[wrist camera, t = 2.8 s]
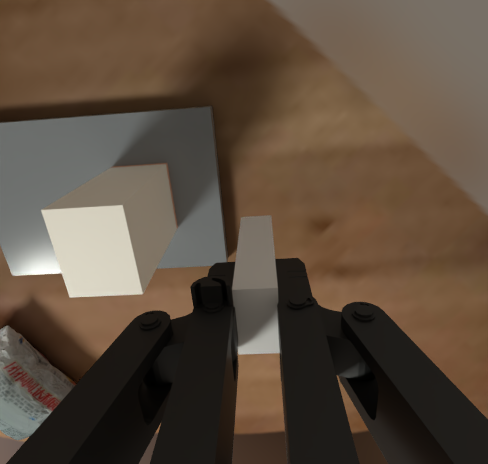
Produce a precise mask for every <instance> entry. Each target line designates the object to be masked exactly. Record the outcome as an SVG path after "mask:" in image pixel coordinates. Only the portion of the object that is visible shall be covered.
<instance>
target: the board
mask: <svg viewBox="0 0 488 464" xmlns="http://www.w3.org/2000/svg"><path fill="white" fill-rule="evenodd" d="M157 163H167V164H168V170H169V176H170V182H171V188H172V194H173V201H174V207H175V213H176V219H177V225H178V228H177V230H176V232H175V234H174V236H173V238H172V240H171V242H170V243H169V245H168V247H167V249H166V251H165V253H164V255H163V257H162V259H161V261H160V262H159V264H158V266H157V268H176V267H196V266H213V265H214V264H215V263H221V262H228V253H227V243H226V233H225V224H224V214H223V205H222V195H221V186H220V176H219V167H218V157H217V147H216V138H215V128H214V119H213V109H212V106H202V107H189V108H176V109H163V110H150V111H137V112H124V113H111V114H98V115H85V116H72V117H59V118H46V119H33V120H20V121H7V122H0V245H1V248H2V250H3V253H4V255H5V258H6V260H7V263H8V265H9V268H10V270H11V273H12V275H13V276H15V275H35V274H55V273H62V272H61V269H60V266H59V263H58V260H57V257H56V254H55V251H54V248H53V245H52V242H51V239H50V236H49V233H48V230H47V227H46V224H45V221H44V218H43V215H42V212H41V210H42V209H43V208H45V207H47V206H48V205H50V204H52V203H53V202H55V201H57V200H58V199H60V198H62V197H63V196H65V195H66V194H68V193H70V192H71V191H73V190H75V189H76V188H78V187H80V186H81V185H83V184H85V183H86V182H88V181H89V180H91V179H93V178H94V177H96V176H98V175H99V174H101V173H103V172H104V171H106V170H108V169H109V168H111V167H113V166H128V165H142V164H157Z"/></svg>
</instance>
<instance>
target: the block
mask: <svg viewBox="0 0 488 464" xmlns="http://www.w3.org/2000/svg"><path fill="white" fill-rule="evenodd" d="M41 212H42V215H43V218H44V221H45V224H46V227H47V230H48V233H49V236H50V239H51V242H52V245H53V248H54V251H55V254H56V257H57V260H58V263H59V266H60V269H61V272H62V275H63V278H64V281H65V284H66V287H67V290H68V293H69V296H70V297H91V296H113V295H135V294H143V293H144V291H145V289H146V287H147V285H148V283H149V281H150V280H151V278H152V276H153V274H154V272H155V270H156V268H157V266H158V264H159V262H160V261H161V259H162V257H163V255H164V253H165V251H166V249H167V247H168V245H169V243H170V242H171V240H172V238H173V236H174V234H175V232H176V230H177V228H178V225H177V219H176V213H175V207H174V201H173V194H172V188H171V182H170V176H169V170H168V164H167V163H157V164H142V165H128V166H113V167H111V168H109V169H108V170H106V171H104V172H103V173H101V174H99V175H98V176H96V177H94V178H93V179H91V180H89V181H88V182H86V183H85V184H83V185H81V186H80V187H78V188H76V189H75V190H73V191H71V192H70V193H68V194H66V195H65V196H63V197H62V198H60V199H58V200H57V201H55V202H53V203H52V204H50V205H48V206H47V207H45V208H43V209H42V210H41Z"/></svg>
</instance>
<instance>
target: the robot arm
mask: <svg viewBox="0 0 488 464" xmlns="http://www.w3.org/2000/svg"><path fill="white" fill-rule="evenodd" d="M191 294H192V300H193V306H194V309H193V312H192V313H190V314H188V315H186V316H183V317H180V318H176V319H172V320H171V319H170V315H168V314H167V313H166V312H163V311H150V312H146V313H143V314H141V315H139V316H137V317H136V318H135V319H134V320H133V321H132V322H131V323H130V324H129V325H128V326H127V327H126V329H125V330H124V331H123V332H122V333H121V334H120V335H119V336H118V338H117V339H116V340H115V341H114V342H113V343H112V344H111V346H110V347H109V348H108V349H107V350H106V351H105V352H104V353H103V355H102V356H101V357H100V358H99V359H98V360H97V361H96V362H95V364H94V365H93V366H92V367H91V368H90V369H89V370H88V372H87V373H86V374H85V375H84V376H83V377H82V378H81V379H80V381H79V382H78V383H77V384H76V385H75V386H74V387H73V389H72V390H71V391H70V392H69V393H68V394H67V395H66V396H65V398H64V399H63V400H62V401H61V402H60V403H59V404H58V405H57V407H56V408H55V409H54V410H53V411H52V412H51V413H50V415H49V416H48V417H47V418H46V419H45V420H44V421H43V422H42V424H41V425H40V426H39V427H38V428H37V429H36V430H35V432H34V433H33V434H32V435H31V436H30V437H29V438H28V439H27V441H26V442H25V443H24V444H23V445H22V446H21V447H20V449H19V450H18V451H17V452H16V453H15V454H14V455H13V457H12V458H11V459H10V460H9V461H8V462H7V463H6V464H139V462H140V460H141V458H142V456H143V454H144V452H145V450H146V449H147V447H148V445H149V443H150V441H151V439H152V438H153V436H154V434H155V432H156V430H157V429H158V427H159V425H160V423H161V426H160V430H159V433H158V437H157V440H156V444H155V448H154V451H153V455H152V458H151V462H150V464H232V454H233V440H234V425H235V410H236V395H237V380H238V356H237V352H238V353H239V354H264V353H280V371H281V382H282V396H283V409H284V423H285V436H286V450H287V464H359V460H358V456H357V453H356V449H355V445H354V441H353V437H352V433H351V430H350V426H349V422H348V418H347V414H346V410H345V407H344V403H343V399H342V395H341V391H340V387H339V383H338V380H337V376H336V375H338V376H339V378H340V382H341V383H342V385H343V387H344V388H345V390H346V392H347V394H348V395H349V397H350V399H351V400H352V402H353V404H354V406H355V407H356V409H357V411H358V412H359V414H360V416H361V418H362V419H363V421H364V423H365V424H366V426H367V428H368V430H369V431H370V433H371V435H372V436H373V438H374V440H375V441H376V443H377V445H378V447H379V448H380V450H381V451H382V453H383V455H384V457H385V459H386V460H387V462H388V464H488V419H487V418H486V417H485V416H484V415H483V414H482V413H481V412H480V411H479V410H478V409H477V408H476V407H475V406H474V405H473V404H472V403H471V402H470V400H469V399H468V398H467V397H466V396H465V395H464V394H463V393H462V392H461V391H460V390H459V389H458V388H457V387H456V386H455V385H454V384H453V383H452V382H451V381H450V380H449V379H448V378H447V377H446V375H445V374H444V373H443V372H442V371H441V370H440V369H439V368H438V367H437V366H436V365H435V364H434V363H433V362H432V361H431V360H430V359H429V358H428V357H427V356H426V355H425V354H424V353H423V352H422V351H421V349H420V348H419V347H418V346H417V345H416V344H415V343H414V342H413V341H412V340H411V339H410V338H409V337H408V336H407V335H406V334H405V333H404V332H403V331H402V330H401V329H400V328H399V327H398V326H397V324H396V323H395V322H394V321H393V320H392V319H391V318H390V317H389V316H388V315H387V314H386V313H385V312H384V311H383V310H382V309H380V308H379V307H378V306H376V305H373V304H371V303H366V302H353V303H350V304H347V305H346V306H345V307H344V308H343V309H342V312H338V311H333V310H328V309H325V308H323V307H321V306H320V305H318V303H317V301H316V299H315V298H313V297H312V293H311V289H310V285H309V281H308V277H307V273H306V269H305V265H304V263H303V262H302V261H301V260H300V259H298V258H288V259H275V252H274V241H273V230H272V220H271V216H253V217H241V223H240V231H239V238H238V246H237V254H236V262H221V263H215V264H214V265H213V266H212V267H211V268H210V269H209V273H208V277H204V278H201V279H198V280H197V281H195V282H194V283H193V284H192V286H191ZM161 421H162V422H161Z"/></svg>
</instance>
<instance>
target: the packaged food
mask: <svg viewBox="0 0 488 464" xmlns="http://www.w3.org/2000/svg"><path fill="white" fill-rule="evenodd" d="M75 385H76V383H75V382H74V381H72V380H71V379H70V378H68V377H67V376H66V375H65V374H63V373H62V372H61V371H59V370H58V369H57V368H55V367H53V366H52V365H51V364H50V363H49V362H48V360H47V358H46V357H45V356H44V355H43V354H41V353H40V352H39V351H38V350H36V349H35V348H33V347H32V346H31V345H30V343H29V342H28V341H27V340H26V339H25V338H24V337H23V336H22V335H21V334H20V333H17V332H15V330H14V329H12V328H11V327H10V326H5V327H3V328H2V329H1V330H0V430H1V431H2V432H3V433H4V434H5V435H7V436H9V437H11V438H13V439H15V440H21V439H24V438H27V437H30V436H31V435H32V434H33V433H34V432H35V430H36V429H37V428H38V427H39V426H40V425H41V424H42V422H43V421H44V420H45V419H46V418H47V417H48V416H49V415H50V413H51V412H52V411H53V410H54V409H55V408H56V407H57V405H58V404H59V403H60V402H61V401H62V400H63V399H64V398H65V396H66V395H67V394H68V393H69V392H70V391H71V390H72V389H73V387H74V386H75Z"/></svg>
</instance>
